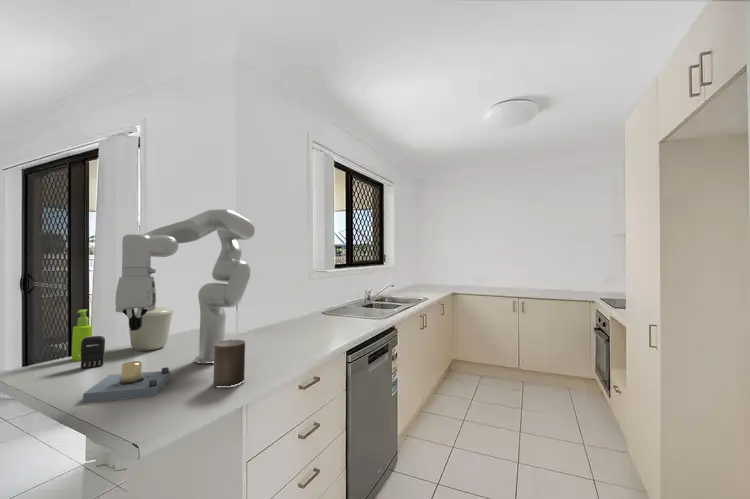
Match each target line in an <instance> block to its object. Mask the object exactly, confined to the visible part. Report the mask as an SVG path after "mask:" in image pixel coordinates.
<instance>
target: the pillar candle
mask: <svg viewBox="0 0 750 499" xmlns="http://www.w3.org/2000/svg"><path fill="white" fill-rule="evenodd" d="M245 354H246V341H245V340H244V339H232V338H230V339H227V340H226V339H225V341H221V342H217V343H215V351H214V363H213V381H212V383H213V386H214V385H215V386H231V385H235V384H238V383H240V382H242V381H243V380H244V381H245V367H246V364H245V362H246V360H245V359H246V355H245Z"/></svg>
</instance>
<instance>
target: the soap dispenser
mask: <svg viewBox="0 0 750 499" xmlns="http://www.w3.org/2000/svg"><path fill="white" fill-rule="evenodd" d="M87 311H88V309H87V308H85V309H84V308H83V309H79V310H78V311H77V314H80V316H79V317H78V318H77V325H75V326H73V327H72V336H71V338H72V340H71V342H72V343H71V356H70V357H72V358H71V362H81V342H82V340H83V338H85V337H89V336H93V325H91V324H89V321H90V320H89V317H88V316H87ZM79 355H80V356H79Z"/></svg>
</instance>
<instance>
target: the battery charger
mask: <svg viewBox="0 0 750 499" xmlns="http://www.w3.org/2000/svg"><path fill="white" fill-rule="evenodd" d="M105 350H106V337H105V336H104V335H92V336H89V337H85V338H83V340H82V342H81V361H80V368H81V369H89V368H90V369H91V368H97V367H102V366H103V365H104V364H105V353H106V352H105Z"/></svg>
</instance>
